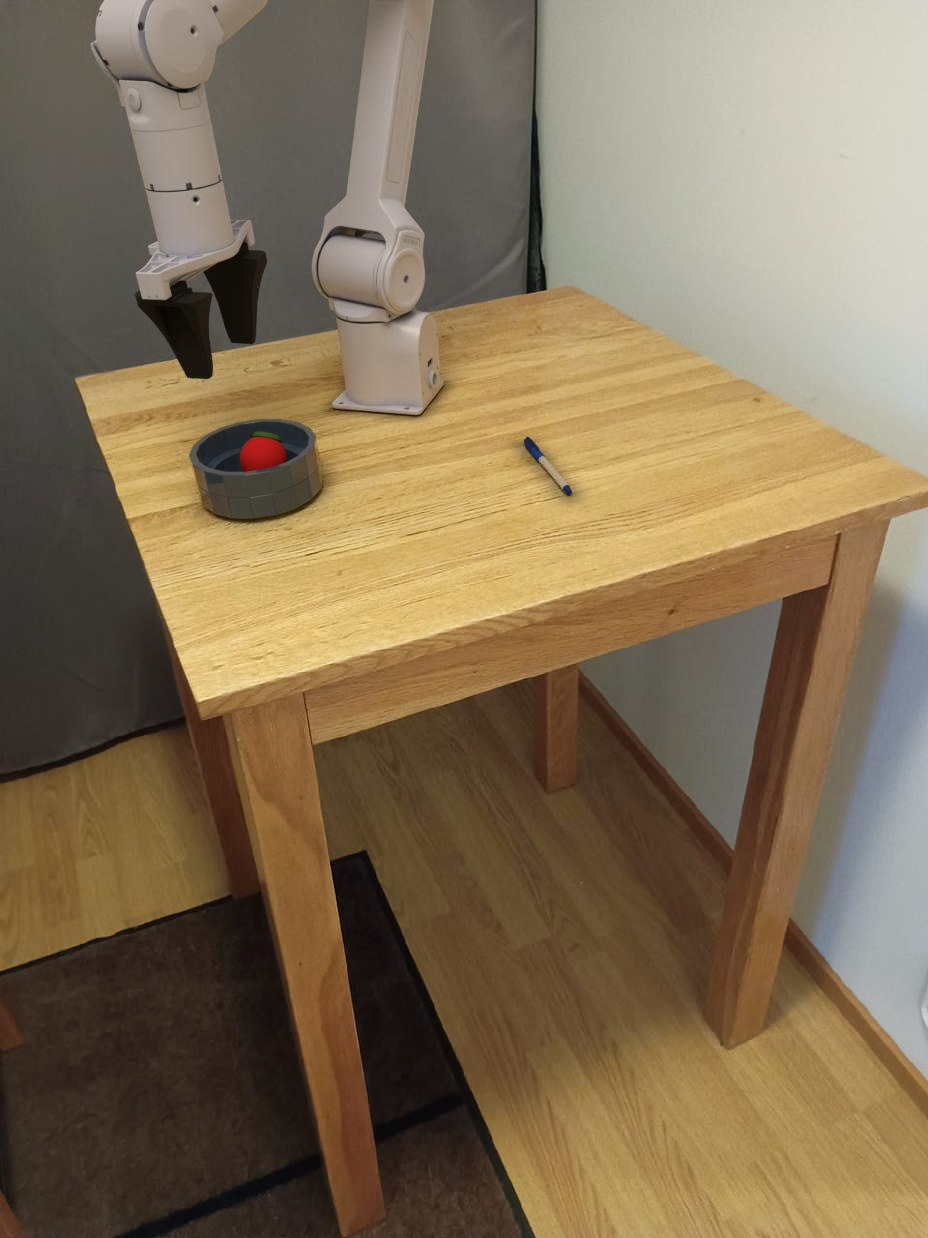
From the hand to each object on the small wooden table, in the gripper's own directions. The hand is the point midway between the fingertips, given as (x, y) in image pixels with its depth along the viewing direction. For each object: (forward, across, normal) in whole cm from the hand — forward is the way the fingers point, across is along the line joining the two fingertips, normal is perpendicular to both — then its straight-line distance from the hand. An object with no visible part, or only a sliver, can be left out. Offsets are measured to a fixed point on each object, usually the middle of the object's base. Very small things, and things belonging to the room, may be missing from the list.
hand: (222, 358), depth 77 cm
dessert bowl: (+10, +4, +3) cm, 11 cm away
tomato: (+9, +4, +3) cm, 11 cm away
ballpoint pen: (+11, -5, +26) cm, 29 cm away
